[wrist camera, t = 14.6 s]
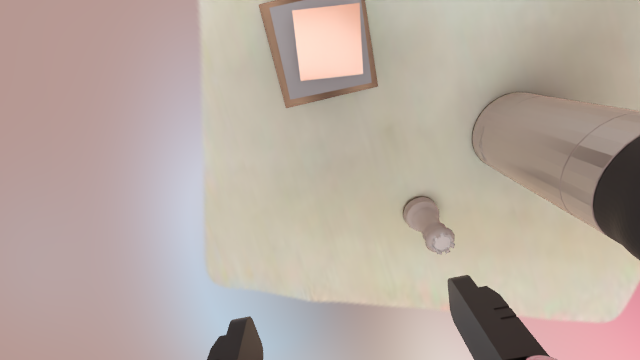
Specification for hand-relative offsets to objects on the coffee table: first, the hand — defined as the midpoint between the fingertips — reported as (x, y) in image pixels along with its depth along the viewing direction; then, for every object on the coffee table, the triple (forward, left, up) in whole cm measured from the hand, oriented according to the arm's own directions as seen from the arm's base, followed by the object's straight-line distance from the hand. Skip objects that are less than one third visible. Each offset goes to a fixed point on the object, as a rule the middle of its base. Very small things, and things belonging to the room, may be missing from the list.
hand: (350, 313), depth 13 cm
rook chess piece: (-10, +12, -27) cm, 31 cm away
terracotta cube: (-2, -10, -21) cm, 24 cm away
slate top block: (-2, -10, -24) cm, 27 cm away
